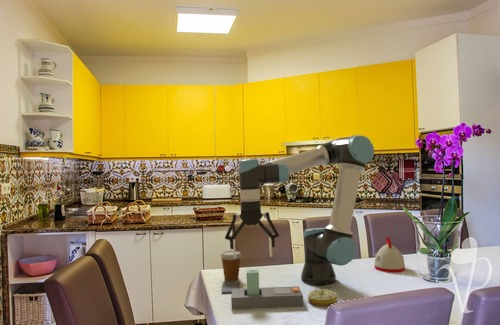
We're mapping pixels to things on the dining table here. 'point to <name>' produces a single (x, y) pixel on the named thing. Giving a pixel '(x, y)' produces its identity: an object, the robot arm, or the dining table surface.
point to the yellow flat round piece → (322, 297)
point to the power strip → (267, 298)
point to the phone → (229, 287)
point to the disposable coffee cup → (231, 265)
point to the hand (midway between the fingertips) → (252, 256)
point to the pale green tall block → (252, 282)
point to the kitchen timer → (389, 259)
